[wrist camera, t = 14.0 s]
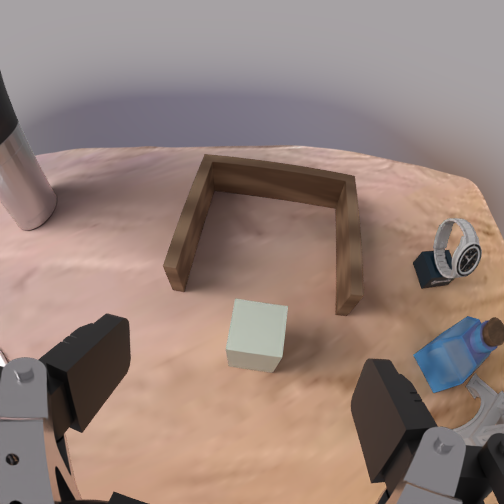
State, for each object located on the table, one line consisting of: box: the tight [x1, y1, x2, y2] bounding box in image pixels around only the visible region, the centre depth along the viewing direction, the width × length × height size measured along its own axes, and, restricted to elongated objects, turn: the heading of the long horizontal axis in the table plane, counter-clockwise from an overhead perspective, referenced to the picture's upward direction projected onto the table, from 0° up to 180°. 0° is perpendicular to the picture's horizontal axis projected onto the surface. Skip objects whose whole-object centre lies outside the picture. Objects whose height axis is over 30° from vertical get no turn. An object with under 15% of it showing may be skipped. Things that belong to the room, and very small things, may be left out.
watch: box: [413, 218, 482, 288], centre depth 35 cm, size 6×8×11 cm
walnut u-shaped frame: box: [163, 154, 364, 316], centre depth 39 cm, size 19×22×6 cm
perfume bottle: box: [414, 316, 504, 393], centre depth 28 cm, size 6×6×12 cm
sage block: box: [226, 299, 288, 373], centre depth 30 cm, size 5×5×8 cm
